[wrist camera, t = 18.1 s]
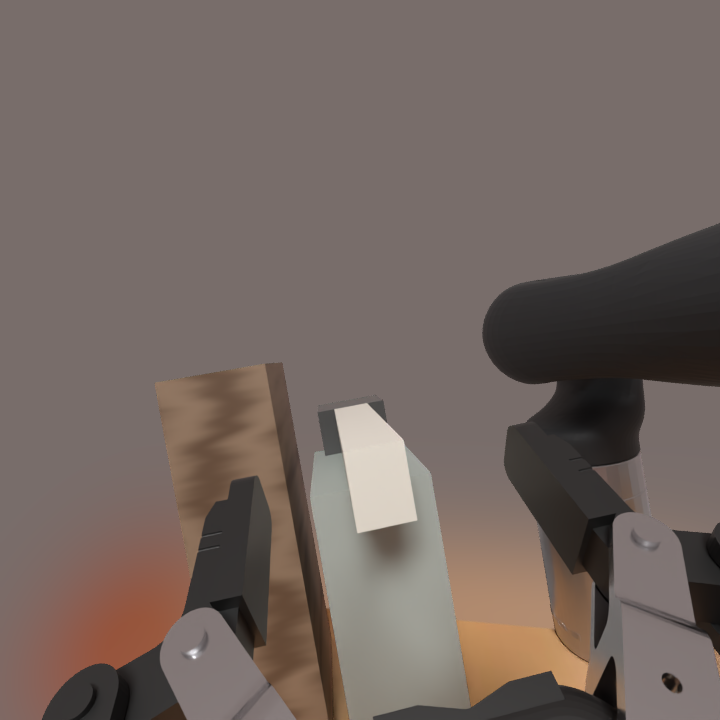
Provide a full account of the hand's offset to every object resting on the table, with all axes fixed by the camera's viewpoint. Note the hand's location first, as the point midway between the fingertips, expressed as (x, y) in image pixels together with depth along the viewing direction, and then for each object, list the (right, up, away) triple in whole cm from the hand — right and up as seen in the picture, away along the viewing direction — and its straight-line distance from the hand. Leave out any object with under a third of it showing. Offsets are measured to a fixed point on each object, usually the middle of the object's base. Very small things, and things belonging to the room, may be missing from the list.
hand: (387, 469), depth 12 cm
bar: (-1, -5, +17) cm, 18 cm away
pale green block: (+3, -25, +19) cm, 32 cm away
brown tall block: (-7, -27, +23) cm, 36 cm away
